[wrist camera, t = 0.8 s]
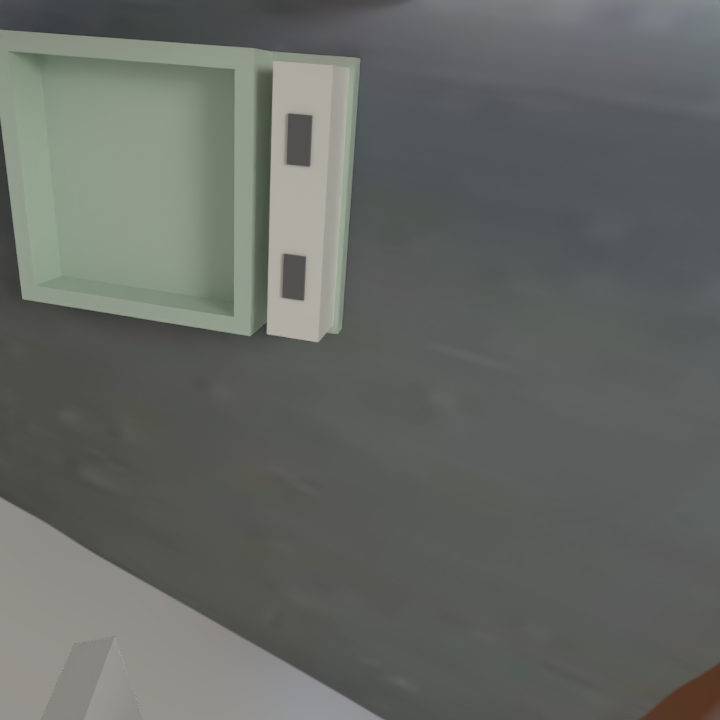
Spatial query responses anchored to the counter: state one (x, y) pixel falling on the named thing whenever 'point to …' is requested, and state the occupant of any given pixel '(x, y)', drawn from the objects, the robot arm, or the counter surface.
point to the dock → (180, 180)
